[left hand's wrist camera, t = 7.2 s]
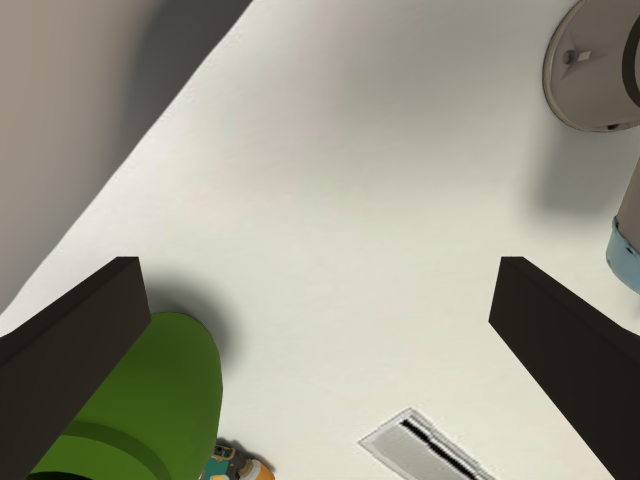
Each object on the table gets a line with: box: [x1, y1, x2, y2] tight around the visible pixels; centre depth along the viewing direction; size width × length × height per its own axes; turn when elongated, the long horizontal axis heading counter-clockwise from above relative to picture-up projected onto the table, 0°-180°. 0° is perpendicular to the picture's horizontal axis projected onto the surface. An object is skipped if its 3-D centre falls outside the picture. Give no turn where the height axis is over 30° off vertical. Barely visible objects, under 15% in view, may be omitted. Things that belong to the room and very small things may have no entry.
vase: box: [25, 312, 223, 480], centre depth 40 cm, size 20×20×24 cm
